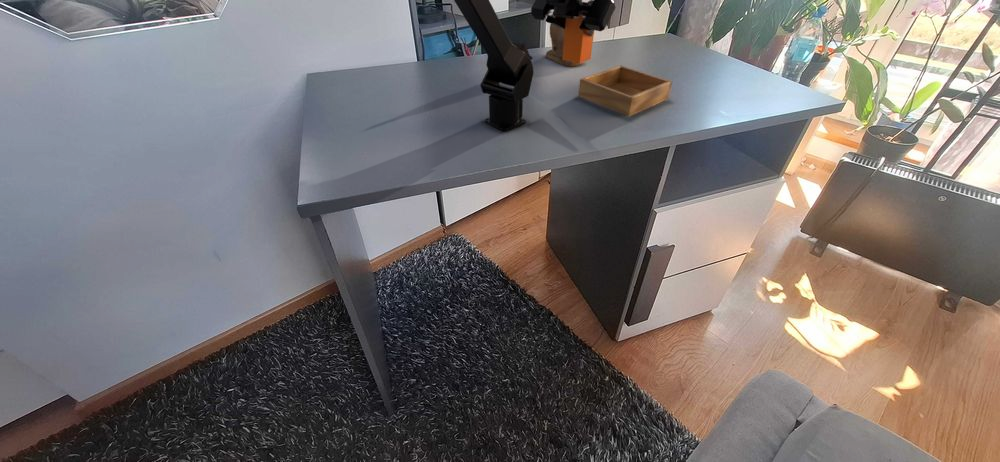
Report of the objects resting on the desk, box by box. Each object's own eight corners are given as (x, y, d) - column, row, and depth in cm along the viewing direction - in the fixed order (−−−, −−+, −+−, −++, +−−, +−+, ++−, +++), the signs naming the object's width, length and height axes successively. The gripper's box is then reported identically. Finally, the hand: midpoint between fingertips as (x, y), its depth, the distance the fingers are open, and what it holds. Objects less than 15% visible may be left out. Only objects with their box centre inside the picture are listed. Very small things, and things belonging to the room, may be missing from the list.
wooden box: (627, 119, 89) (632, 98, 86) (577, 99, 98) (580, 78, 95) (667, 102, 96) (672, 81, 93) (617, 84, 105) (620, 65, 102)
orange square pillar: (579, 63, 98) (585, 12, 91) (562, 59, 100) (566, 9, 93) (590, 58, 101) (597, 8, 94) (573, 54, 103) (578, 5, 96)
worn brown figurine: (544, 65, 124) (540, -3, 115) (559, 62, 126) (556, -6, 117) (568, 68, 115) (565, -6, 106) (584, 64, 116) (582, -9, 108)
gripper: (619, -48, 79) (634, 7, 92) (541, -54, 89) (565, -4, 102) (592, 5, 80) (611, 52, 93) (517, -7, 89) (544, 37, 102)
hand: (582, 32), depth 98 cm, fingers closed on orange square pillar, 5 cm apart
